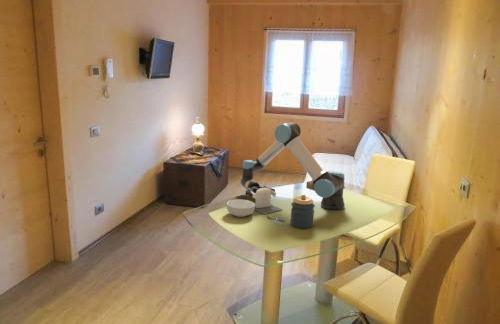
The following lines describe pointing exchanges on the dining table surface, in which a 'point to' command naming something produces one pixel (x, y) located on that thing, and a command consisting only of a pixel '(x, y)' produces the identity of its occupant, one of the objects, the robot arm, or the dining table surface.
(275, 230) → the dining table surface
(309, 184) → the pen tray
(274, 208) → the mat
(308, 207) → the canister
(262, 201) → the beige rounded block
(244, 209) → the cereal bowl
